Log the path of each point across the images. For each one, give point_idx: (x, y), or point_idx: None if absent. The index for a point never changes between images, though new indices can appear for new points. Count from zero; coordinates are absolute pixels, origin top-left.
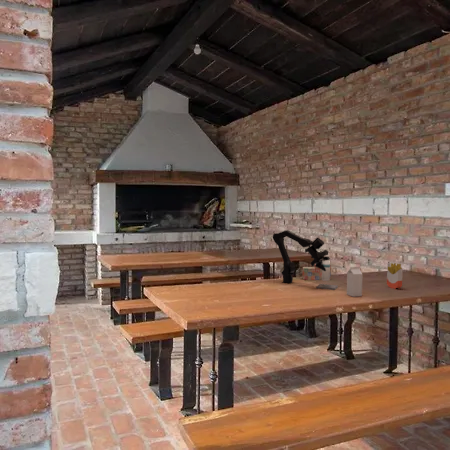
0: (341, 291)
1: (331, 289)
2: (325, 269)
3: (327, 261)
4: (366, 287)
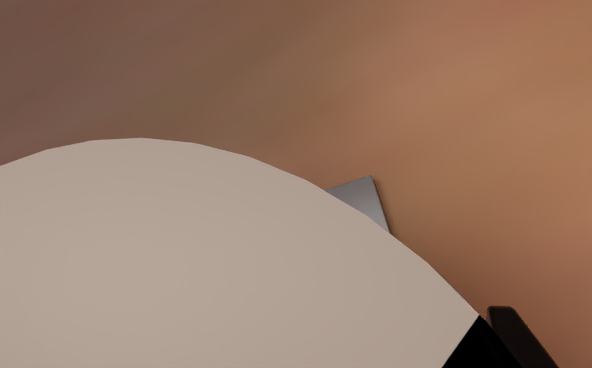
0: (397, 77)
1: (388, 226)
2: (513, 330)
3: (433, 272)
4: (35, 20)
